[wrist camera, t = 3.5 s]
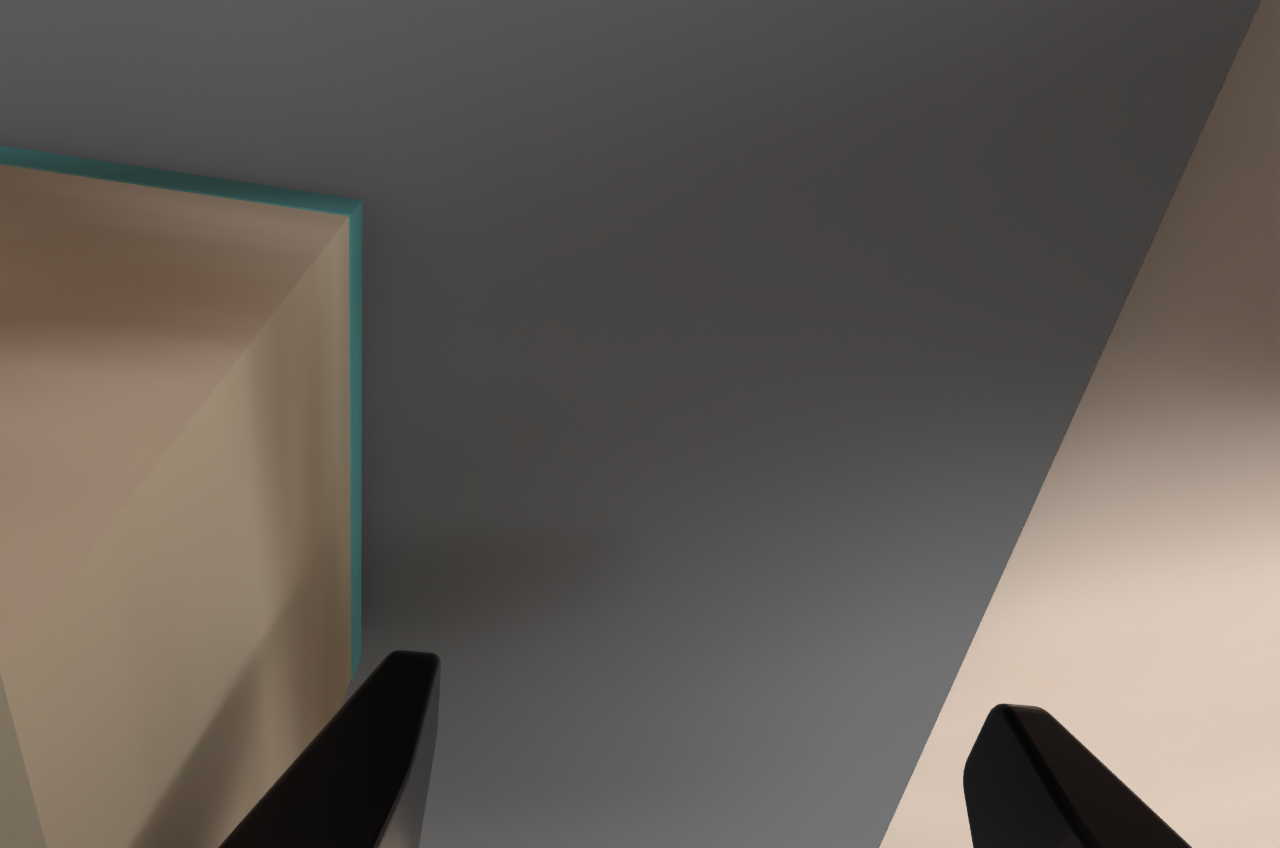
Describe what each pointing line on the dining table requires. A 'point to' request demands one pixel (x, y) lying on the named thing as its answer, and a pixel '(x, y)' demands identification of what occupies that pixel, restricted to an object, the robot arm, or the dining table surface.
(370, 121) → the rubber mat
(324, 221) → the beech cube
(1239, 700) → the dining table surface
